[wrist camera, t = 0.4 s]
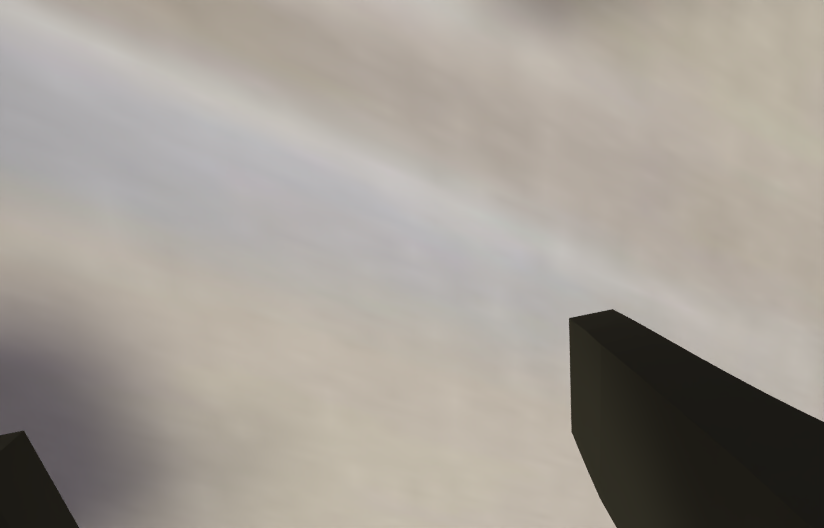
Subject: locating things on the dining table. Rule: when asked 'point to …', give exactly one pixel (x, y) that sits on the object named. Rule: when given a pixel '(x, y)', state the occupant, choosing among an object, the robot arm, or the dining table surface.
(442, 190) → the dining table surface
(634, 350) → the robot arm
